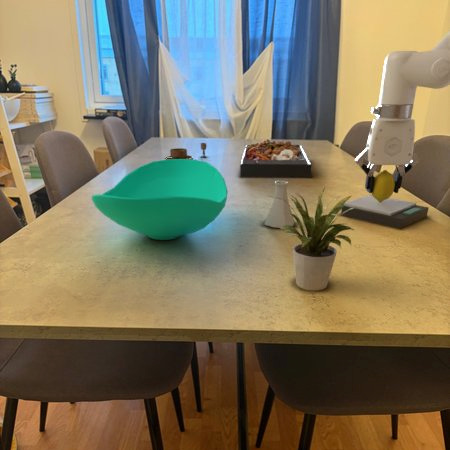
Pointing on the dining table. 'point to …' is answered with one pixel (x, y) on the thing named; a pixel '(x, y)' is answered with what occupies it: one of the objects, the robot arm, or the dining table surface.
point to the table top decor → (166, 198)
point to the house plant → (316, 244)
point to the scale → (384, 211)
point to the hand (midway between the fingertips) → (382, 191)
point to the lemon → (383, 186)
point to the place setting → (184, 153)
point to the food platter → (275, 160)
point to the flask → (280, 208)
